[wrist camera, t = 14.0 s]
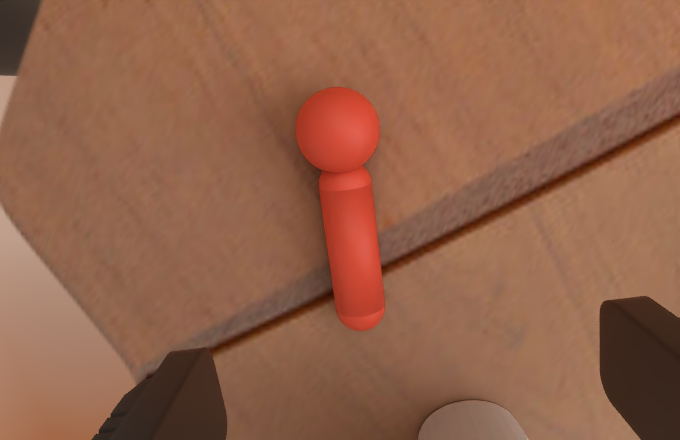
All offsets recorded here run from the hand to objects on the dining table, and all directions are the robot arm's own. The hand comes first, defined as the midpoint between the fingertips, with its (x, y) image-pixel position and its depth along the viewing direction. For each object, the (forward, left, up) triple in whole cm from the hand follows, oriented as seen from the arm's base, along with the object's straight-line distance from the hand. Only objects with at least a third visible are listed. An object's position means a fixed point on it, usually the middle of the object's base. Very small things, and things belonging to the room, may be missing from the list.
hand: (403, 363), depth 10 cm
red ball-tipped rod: (-1, +1, -14) cm, 14 cm away
